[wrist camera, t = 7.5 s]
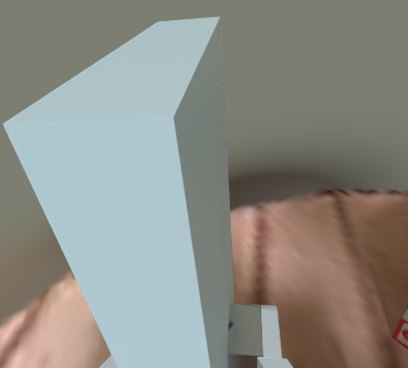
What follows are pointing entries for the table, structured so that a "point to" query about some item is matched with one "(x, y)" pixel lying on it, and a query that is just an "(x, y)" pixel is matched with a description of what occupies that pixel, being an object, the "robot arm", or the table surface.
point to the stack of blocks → (402, 330)
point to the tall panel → (142, 192)
